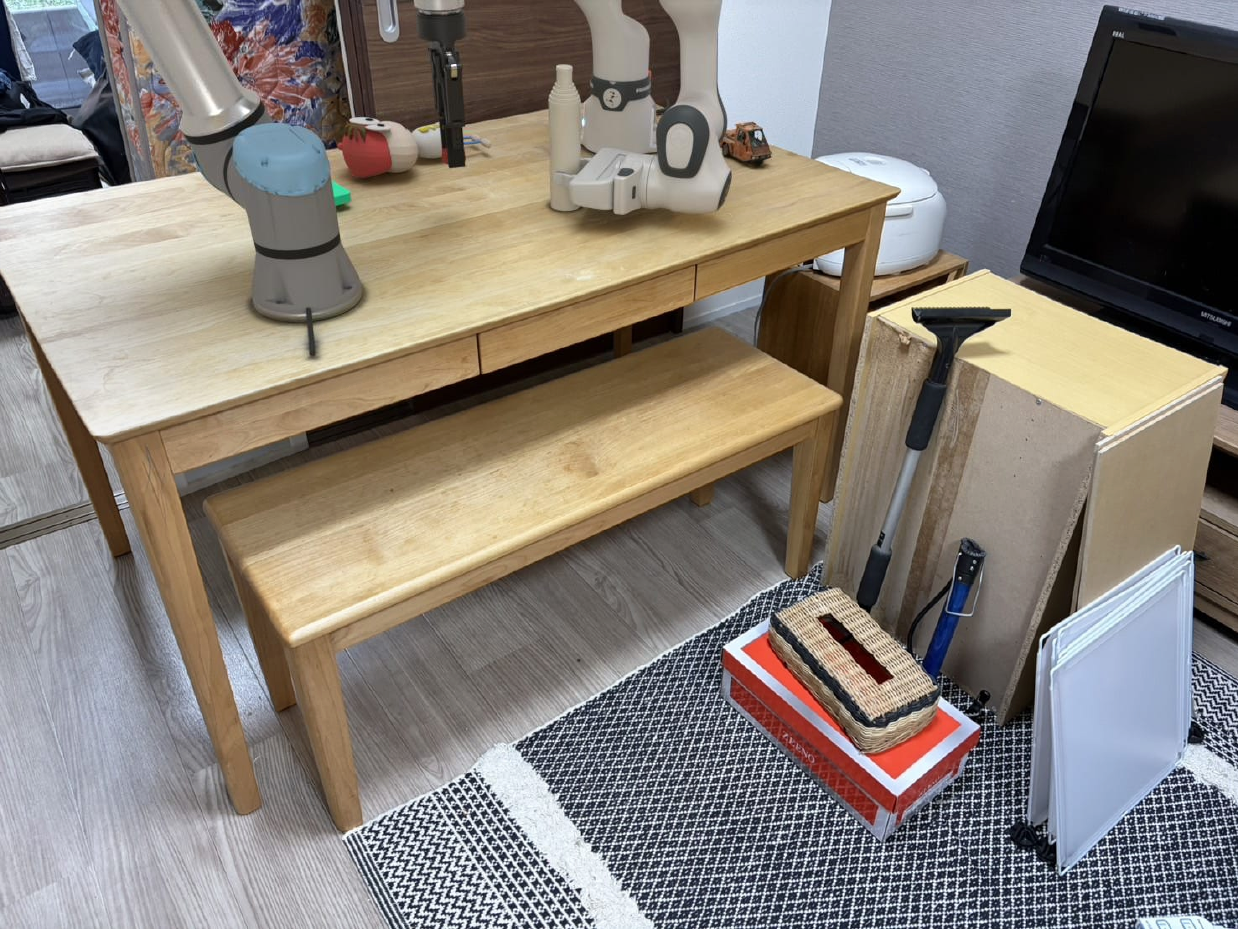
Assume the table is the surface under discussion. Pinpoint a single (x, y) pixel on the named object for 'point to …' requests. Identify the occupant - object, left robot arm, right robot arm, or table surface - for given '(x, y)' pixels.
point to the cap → (445, 157)
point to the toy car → (746, 144)
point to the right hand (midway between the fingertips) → (560, 170)
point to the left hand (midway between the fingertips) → (454, 161)
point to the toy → (390, 146)
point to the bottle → (564, 135)
